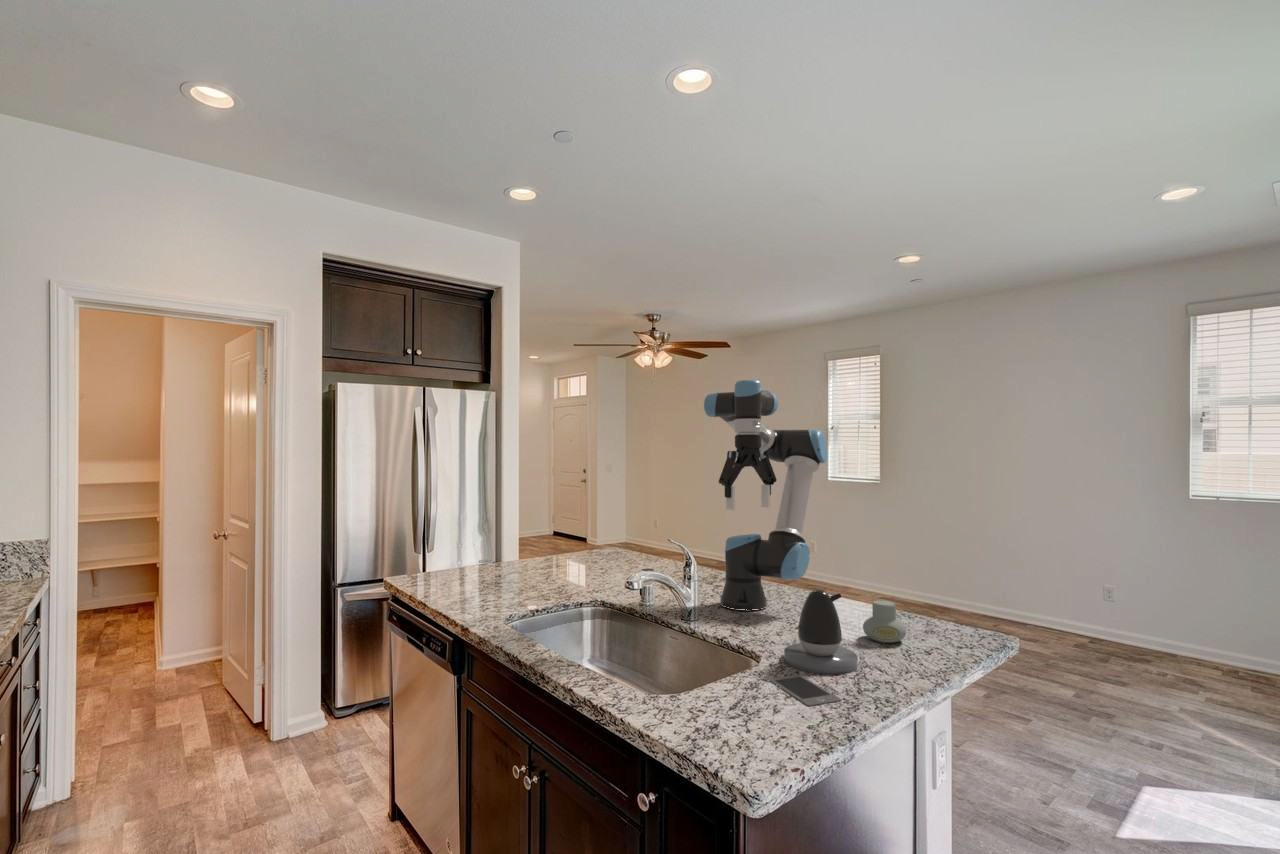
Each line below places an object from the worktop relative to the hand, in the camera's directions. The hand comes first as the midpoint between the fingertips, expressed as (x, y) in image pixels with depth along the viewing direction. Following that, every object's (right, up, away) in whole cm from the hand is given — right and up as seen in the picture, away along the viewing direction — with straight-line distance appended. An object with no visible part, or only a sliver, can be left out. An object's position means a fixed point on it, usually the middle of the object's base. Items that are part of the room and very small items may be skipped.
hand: (748, 508), depth 175 cm
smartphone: (+4, -34, -44) cm, 56 cm away
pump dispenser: (+13, -32, -26) cm, 43 cm away
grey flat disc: (+13, -34, -26) cm, 45 cm away
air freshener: (+35, -35, -10) cm, 50 cm away
